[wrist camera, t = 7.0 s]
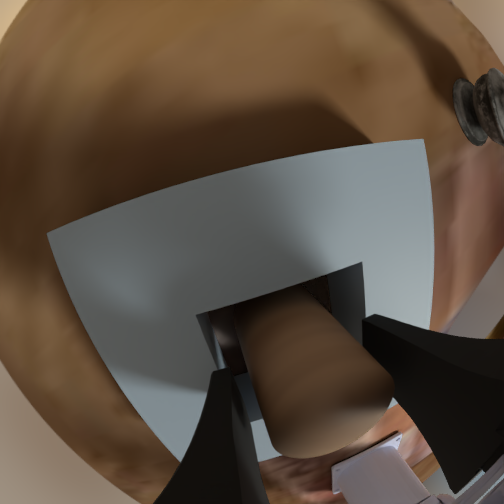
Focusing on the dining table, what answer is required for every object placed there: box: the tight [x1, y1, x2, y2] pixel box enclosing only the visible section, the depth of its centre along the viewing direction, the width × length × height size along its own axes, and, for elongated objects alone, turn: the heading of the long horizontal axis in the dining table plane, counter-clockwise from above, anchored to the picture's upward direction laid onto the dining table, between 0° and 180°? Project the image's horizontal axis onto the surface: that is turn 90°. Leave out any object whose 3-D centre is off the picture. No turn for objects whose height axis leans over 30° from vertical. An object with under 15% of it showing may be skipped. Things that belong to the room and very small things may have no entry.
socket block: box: [46, 139, 434, 462], centre depth 11 cm, size 14×14×4 cm
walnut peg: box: [234, 283, 395, 458], centre depth 10 cm, size 4×4×7 cm
